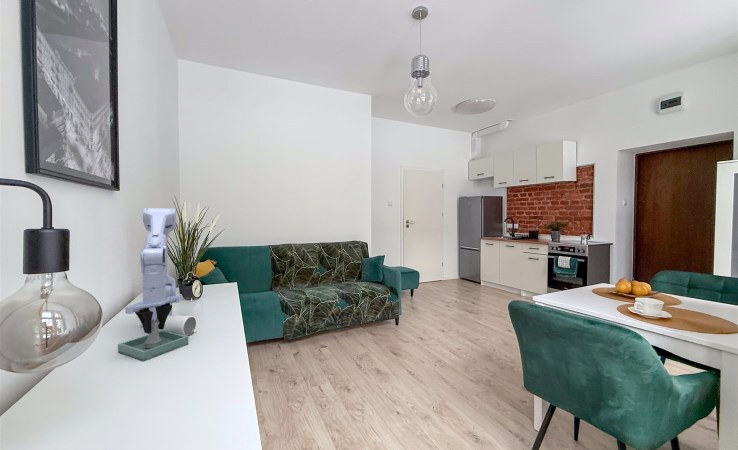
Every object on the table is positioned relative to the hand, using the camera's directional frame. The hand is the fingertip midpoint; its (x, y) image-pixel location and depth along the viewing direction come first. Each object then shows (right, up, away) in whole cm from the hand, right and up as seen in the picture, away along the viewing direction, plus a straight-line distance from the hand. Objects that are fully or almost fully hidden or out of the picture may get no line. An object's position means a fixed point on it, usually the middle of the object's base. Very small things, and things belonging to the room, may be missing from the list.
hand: (154, 330), depth 93 cm
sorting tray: (0, -5, 0) cm, 5 cm away
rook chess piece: (0, -5, 0) cm, 5 cm away
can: (+5, -2, +11) cm, 12 cm away
